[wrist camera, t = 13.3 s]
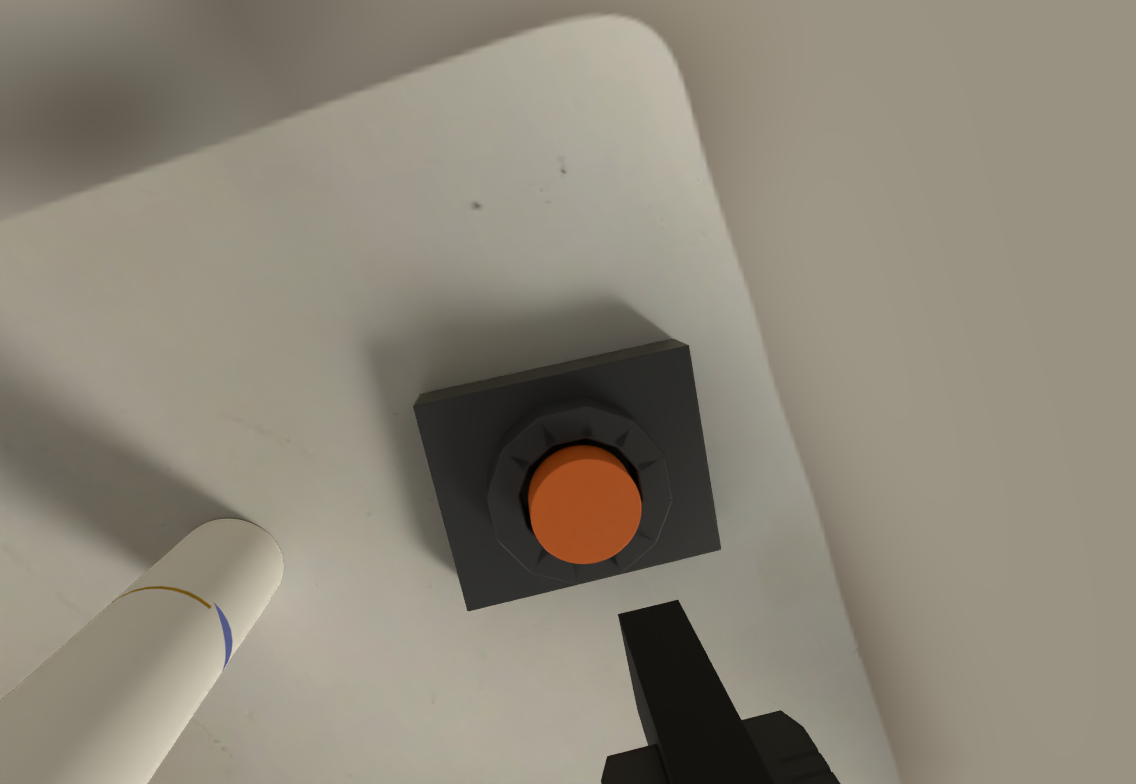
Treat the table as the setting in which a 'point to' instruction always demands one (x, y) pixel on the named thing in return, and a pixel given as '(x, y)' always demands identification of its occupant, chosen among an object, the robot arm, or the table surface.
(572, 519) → the button
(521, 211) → the table surface
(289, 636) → the table surface
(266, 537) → the tube
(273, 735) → the table surface
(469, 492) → the button box
